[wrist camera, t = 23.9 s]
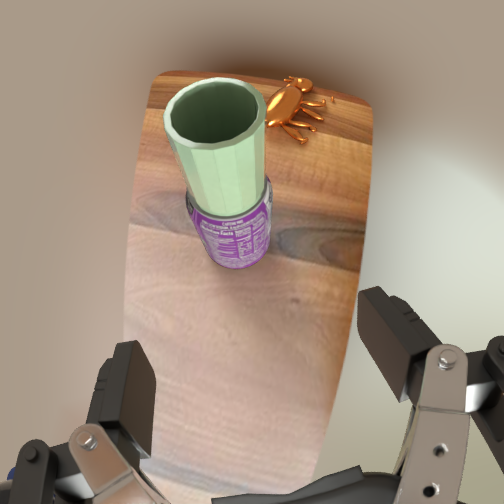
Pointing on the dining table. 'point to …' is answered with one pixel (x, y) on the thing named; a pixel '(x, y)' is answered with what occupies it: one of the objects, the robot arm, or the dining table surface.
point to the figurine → (292, 107)
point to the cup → (219, 143)
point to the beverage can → (235, 231)
